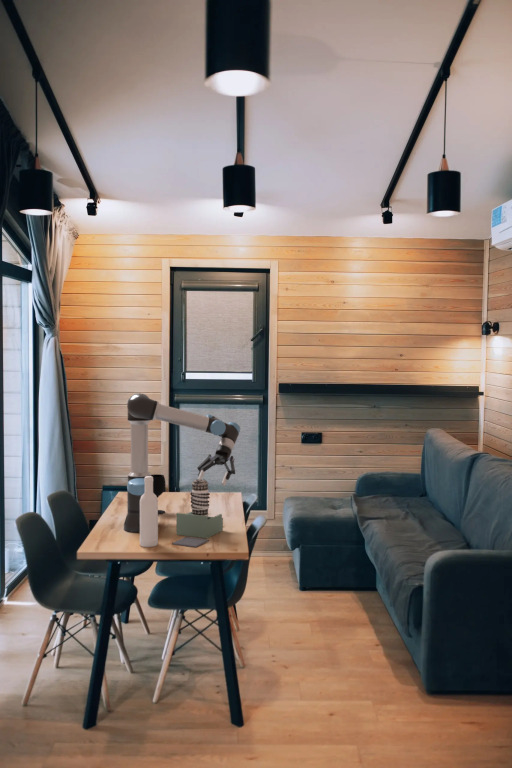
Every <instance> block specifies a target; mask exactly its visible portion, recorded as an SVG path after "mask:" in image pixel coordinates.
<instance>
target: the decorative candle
mask: <svg viewBox="0 0 512 768" xmlns="http://www.w3.org/2000/svg"><path fill="white" fill-rule="evenodd" d="M189 495H190V503H191V504H190V507H191V512H192V515H201V516H209V508H210V504H209V503H210V500H208V499H210V498H211V497H210V493H209V482H208V481H207V479H204V478H202V479H198V478H197V479H194V480H193V481H192V482H191V491H190V494H189ZM209 517H210V516H209ZM209 517H208V519H209Z"/></svg>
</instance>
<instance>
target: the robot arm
mask: <svg viewBox="0 0 512 768" xmlns="http://www.w3.org/2000/svg"><path fill="white" fill-rule="evenodd" d="M126 406H127V407H126V408H127V409H126V410H127V422H128V423H129V424H130V472H129V473H128V474H127V484H126V485H127V486H126V489H127V494H126V495H127V498H126V499H127V505H126V506H127V508H126V509H127V510H126V511H127V512H126V517H125V519H124V521H123V522H124V523H123V530H124V531H125V532H131V533H140V499H141V496H142V495H143V494H144V493H145V481H144V479H145V477H146V476H151V475H152V473H151V472H150V471H149V423H150V422H152V421H155V420H158V421H162V422H166V423H170V424H173V425H177V426H181V427H185V428H188V429H193V430H196V431H201V432H203V433H209V434H211V435H214V436H218V437H220V440H219V443H218V446H217V448H216V450H215V453H214V455H212V454H208V456H207V457H206V458H205V459H204V460H203V461H202V462H201V463H200V464H199V465H198V466H197V470H198V473H197V479H204V476H205V472H206V471H207V470H209V469H211V468H212V467H215V466H216V465H217V466H219V465H220V466H223V465H224V466H225V470H226V471H225V474H224V476H223V478H222V480H221V484H222V487H225V486H226V484H227V482H228V481H229V480H230V477H231V475H236V469H235V458H234V455H232V451H233V450H234V447H235V444H236V442H237V440H238V437H239V435H240V432H241V426H240V425H239V424H238V423H237V422H233V421H229V422H225V421H223V420H222V419H219V418H218V417H216V416H214V415H212V414H209V413H208V414H207V415H202V414H198V413H194V412H192V411H191V412H190V411H187V410H183V409H180V408H176V407H173V406H168V405H165V404H161V403H160V402H159V401H157V400H154V399H151V398H150V397H149V396H147V395H146V394H144V393H134V394H132V395H131V396H130V397H129V398H128V401H127V403H126ZM228 462H229V463H230V468H229V465H228V464H227V463H228ZM230 469H231V470H230Z"/></svg>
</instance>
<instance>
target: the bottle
mask: <svg viewBox="0 0 512 768" xmlns="http://www.w3.org/2000/svg"><path fill="white" fill-rule="evenodd" d="M144 481H145V493H144V494H143V495H142V496H141V499H140V532H139V545H140V547H143V548H153V547H157V546H158V544H159V533H158V532H159V524H158V523H159V515H158V510H159V506H158V505H159V499H158V498H157V496H156V495H155V494H154V493H153V477H152V476H146V477H145V479H144Z"/></svg>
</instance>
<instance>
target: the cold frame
mask: <svg viewBox="0 0 512 768" xmlns="http://www.w3.org/2000/svg"><path fill="white" fill-rule="evenodd" d="M208 517H209V519H208ZM223 524H224V518H223V514H222V513H221V514H217V515H215V516H210V515H208V516H201V515H192V511H190V512H186V513H182V512H177V513H176V528H175V529H176V535H177V536H183V537H193V538H201V539H209V538H211V537H212V536H215V535H217V534H218V533H221V532H223V531H224V526H223Z"/></svg>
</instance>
